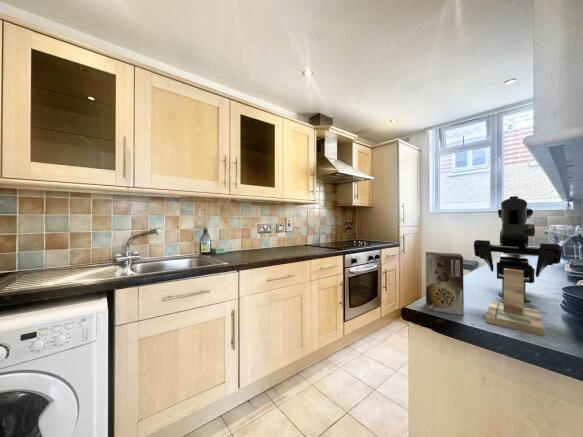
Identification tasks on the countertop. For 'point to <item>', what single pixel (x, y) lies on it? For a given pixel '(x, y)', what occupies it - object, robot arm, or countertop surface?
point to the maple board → (515, 319)
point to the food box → (444, 282)
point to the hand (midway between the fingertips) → (513, 273)
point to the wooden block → (514, 291)
